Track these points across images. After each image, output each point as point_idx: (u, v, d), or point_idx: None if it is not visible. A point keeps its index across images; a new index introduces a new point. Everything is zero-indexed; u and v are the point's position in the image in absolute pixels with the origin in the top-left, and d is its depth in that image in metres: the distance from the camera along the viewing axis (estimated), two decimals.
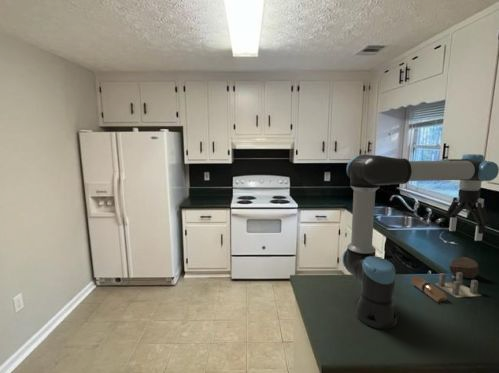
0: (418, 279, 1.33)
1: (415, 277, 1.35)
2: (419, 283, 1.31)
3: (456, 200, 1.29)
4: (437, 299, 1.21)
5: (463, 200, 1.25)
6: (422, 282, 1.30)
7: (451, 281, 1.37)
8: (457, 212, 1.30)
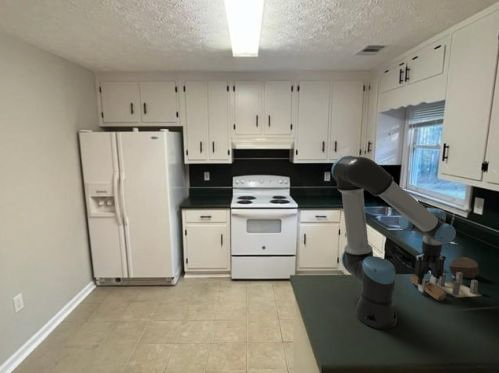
0: None
1: None
2: None
3: None
4: (436, 295, 1.20)
5: None
6: None
7: (451, 281, 1.37)
8: (433, 269, 1.27)
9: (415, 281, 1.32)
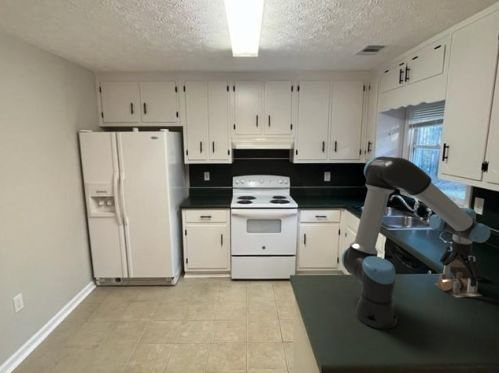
0: (449, 280, 1.29)
1: (445, 280, 1.29)
2: None
3: None
4: None
5: (456, 251, 1.30)
6: (455, 280, 1.30)
7: None
8: (450, 261, 1.34)
9: None
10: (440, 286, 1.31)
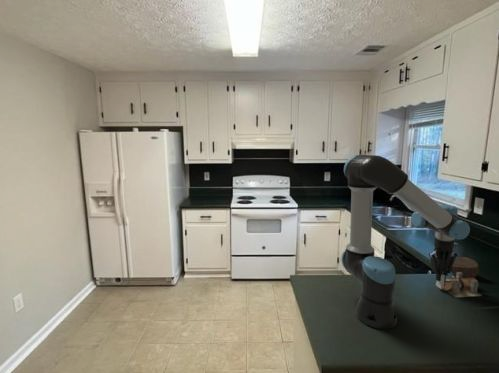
0: (450, 280, 1.29)
1: (445, 280, 1.29)
2: None
3: None
4: None
5: None
6: (455, 280, 1.30)
7: None
8: (443, 265, 1.28)
9: None
10: None
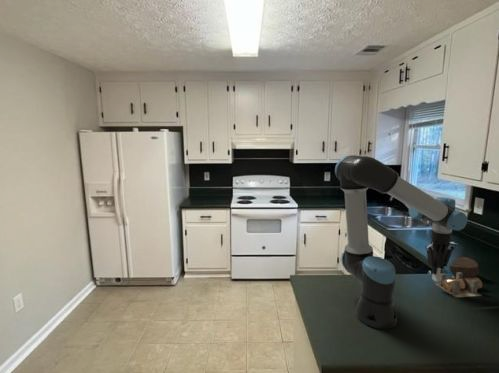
0: (454, 280, 1.29)
1: (449, 280, 1.29)
2: None
3: None
4: None
5: None
6: (459, 280, 1.30)
7: None
8: (439, 258, 1.28)
9: None
10: (444, 286, 1.31)
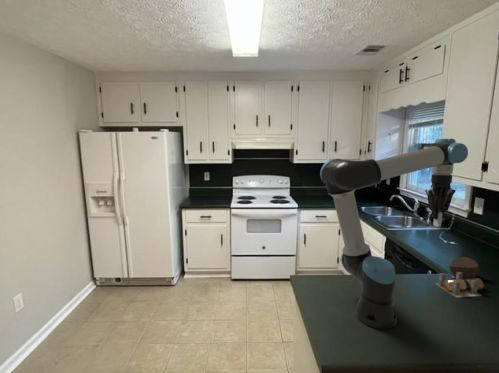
0: None
1: (451, 281, 1.28)
2: (461, 284, 1.28)
3: None
4: None
5: None
6: (461, 281, 1.29)
7: None
8: (440, 203, 1.24)
9: None
10: (445, 286, 1.31)
